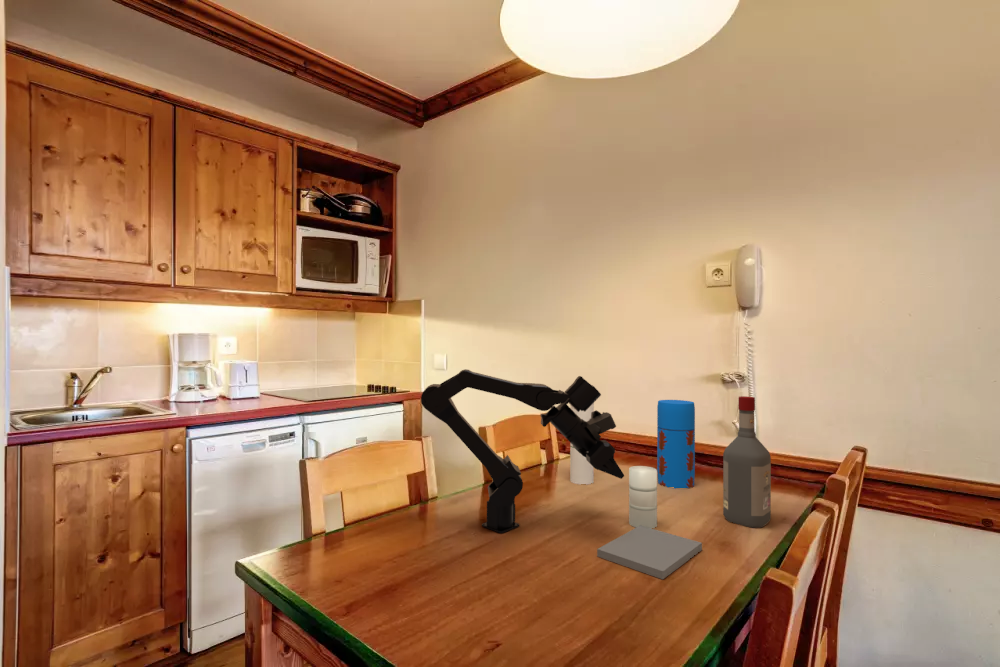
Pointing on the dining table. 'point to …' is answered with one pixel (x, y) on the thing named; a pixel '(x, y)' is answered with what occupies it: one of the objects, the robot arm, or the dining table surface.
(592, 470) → the cylindrical container
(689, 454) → the thermos
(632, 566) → the shelf board
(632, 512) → the tumbler stack
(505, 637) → the dining table surface
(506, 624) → the dining table surface
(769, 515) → the liquor
